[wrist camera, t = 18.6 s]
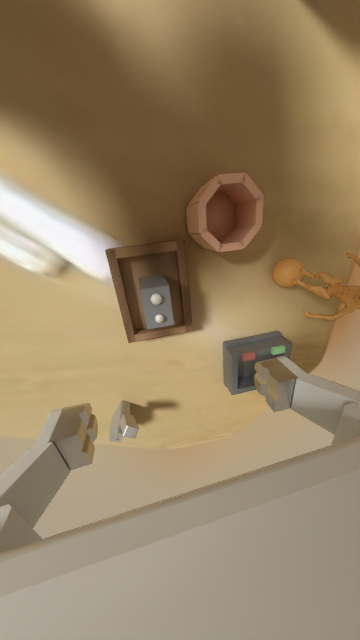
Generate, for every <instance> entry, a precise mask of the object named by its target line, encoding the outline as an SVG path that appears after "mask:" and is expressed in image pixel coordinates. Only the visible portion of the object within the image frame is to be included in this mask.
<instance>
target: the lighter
mask: <svg viewBox="0 0 360 640" xmlns="http://www.w3.org/2000/svg"><path fill="white" fill-rule="evenodd" d="M130 408H131V403H130V402H126V401H121V402H120V404H119V406H118V407H117V409H116V411H115V412H114V414H113V416H112V421H111V428H110V435H109V440H110V441H115V442H120V441H121V440H122V438H123V437H129V438H135V437H136V434H137V432H138V429H139V427H138V425H137V422H136V420H135V418H134V416H133V415H130Z"/></svg>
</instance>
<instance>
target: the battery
mask: <svg viewBox="0 0 360 640" xmlns="http://www.w3.org/2000/svg"><path fill="white" fill-rule="evenodd" d="M139 290H140V295H141V300H142V305H143V310H144V315H145V320H146V325H147V330H148V329H153V328H158V327H164V326H169V325H174V320H173V312H172V305H171V297H170V290H169V285H168V283H167V281H166V280H165V278H164V276H163V275H162V274H161V275H155V276H148V277H141V278H139Z"/></svg>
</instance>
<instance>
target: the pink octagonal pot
mask: <svg viewBox="0 0 360 640" xmlns="http://www.w3.org/2000/svg"><path fill="white" fill-rule="evenodd" d="M263 204H264V196H263V193H262V192H261V191H260V189H259V188H258V187H257V186H256V184H255V183H254V182H253V181H252V179H251V178H250V177H249V175H248V174H247V173H246V174H245V172H242V173H230V174H218V175H217V176H215V177H214V178H212V179H211V180H210V181H208V182H207V183H206V184H204V185H203V186H201V188H200V189H199V190H198V192H197V193H196V194H195V196H194V197H193V198H192V200H191V202H190V203H189V205H188V206H187V209H186V213H187V216H186V222H187V227H188V233H190V234H189V235H190V236H191V237H192V238H193V239H194V240H195V241H196V242H197V243H198V244H200V245H201V246H202V247H203V248H204V249H207V250H212V251H216V252H226V251H233V250H241V249H243V248H245V247H246V246H247V244H248V243H249V242H250V241H251V240H252V238H253V237H254V236H255V235H256V233H257V232H258V231H259V230H260V228H261V226H262V220H263Z"/></svg>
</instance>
